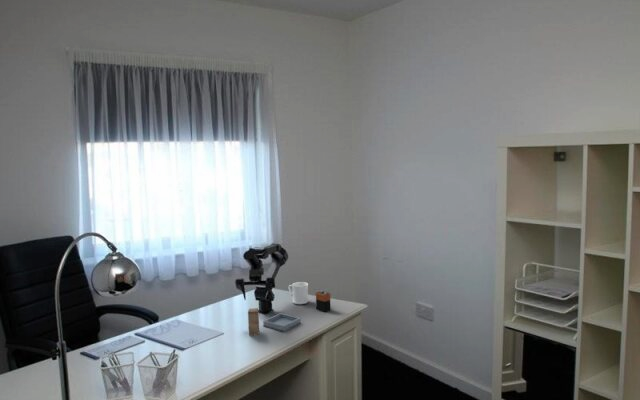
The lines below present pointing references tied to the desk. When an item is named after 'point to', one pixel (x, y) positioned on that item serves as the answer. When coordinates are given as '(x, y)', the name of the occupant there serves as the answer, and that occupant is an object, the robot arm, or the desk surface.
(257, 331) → the walnut block
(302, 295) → the mug
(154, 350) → the desk surface
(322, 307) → the battery
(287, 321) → the tray
